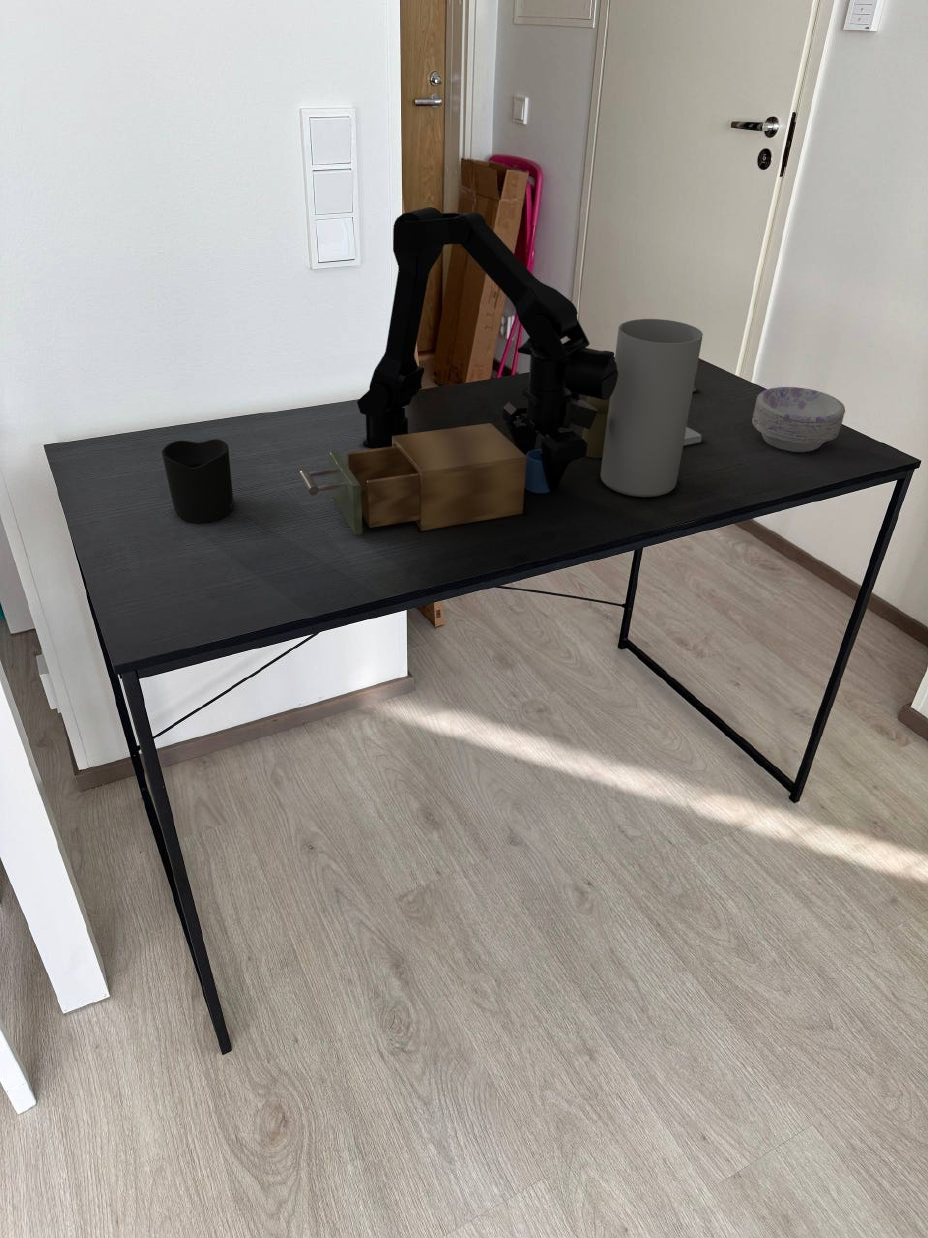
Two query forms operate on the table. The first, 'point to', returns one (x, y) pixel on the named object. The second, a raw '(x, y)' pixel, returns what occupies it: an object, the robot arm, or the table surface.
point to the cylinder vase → (649, 406)
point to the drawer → (371, 487)
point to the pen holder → (199, 479)
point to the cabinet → (465, 474)
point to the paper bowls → (797, 418)
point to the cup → (535, 473)
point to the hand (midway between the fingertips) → (539, 478)
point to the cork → (597, 428)
